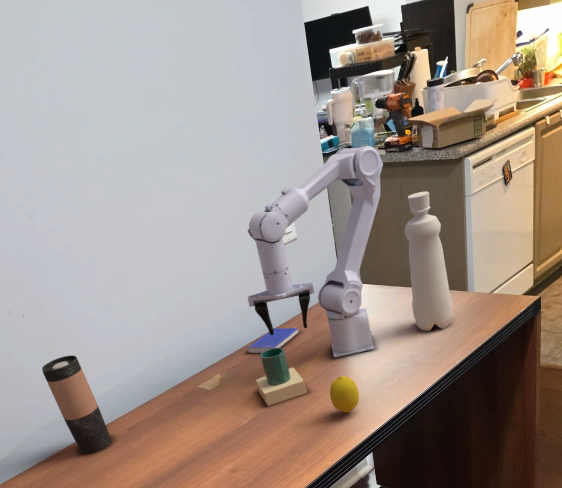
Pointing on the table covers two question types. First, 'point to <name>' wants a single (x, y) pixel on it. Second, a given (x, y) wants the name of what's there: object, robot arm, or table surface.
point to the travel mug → (77, 404)
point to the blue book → (273, 340)
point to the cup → (275, 366)
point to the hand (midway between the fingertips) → (288, 330)
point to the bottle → (427, 266)
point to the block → (281, 388)
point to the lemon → (344, 394)
